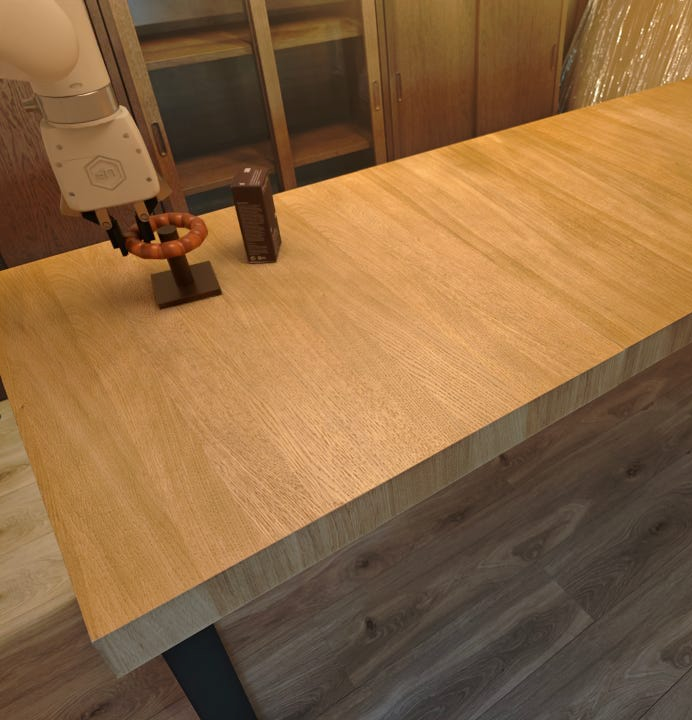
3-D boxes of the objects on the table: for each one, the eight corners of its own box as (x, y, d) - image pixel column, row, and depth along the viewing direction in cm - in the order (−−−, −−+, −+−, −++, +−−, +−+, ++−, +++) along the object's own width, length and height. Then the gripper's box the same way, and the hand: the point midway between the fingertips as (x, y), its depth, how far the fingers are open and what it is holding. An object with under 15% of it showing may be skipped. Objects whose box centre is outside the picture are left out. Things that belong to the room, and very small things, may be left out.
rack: (160, 310, 85) (136, 251, 79) (152, 280, 90) (129, 223, 84) (222, 294, 88) (203, 236, 82) (211, 266, 93) (193, 209, 87)
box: (279, 262, 94) (261, 185, 86) (247, 263, 94) (226, 186, 86) (284, 241, 98) (268, 166, 90) (254, 242, 98) (235, 167, 90)
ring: (131, 270, 79) (125, 255, 78) (123, 233, 86) (118, 220, 84) (215, 250, 83) (211, 236, 81) (201, 217, 89) (197, 204, 88)
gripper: (-6, 127, 65) (69, 279, 77) (161, 102, 71) (206, 247, 83) (-3, 104, 70) (66, 250, 82) (152, 82, 76) (196, 222, 88)
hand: (136, 247), depth 83 cm, fingers closed on ring, 2 cm apart
